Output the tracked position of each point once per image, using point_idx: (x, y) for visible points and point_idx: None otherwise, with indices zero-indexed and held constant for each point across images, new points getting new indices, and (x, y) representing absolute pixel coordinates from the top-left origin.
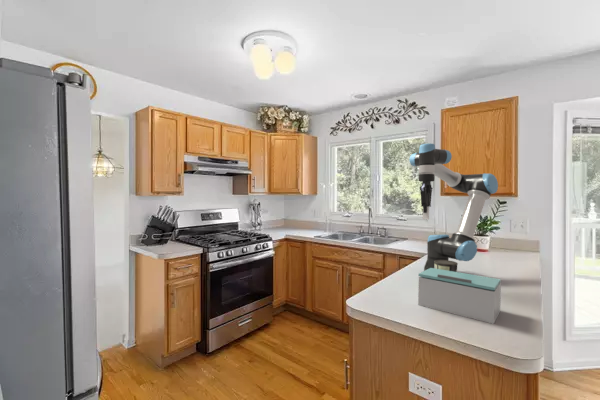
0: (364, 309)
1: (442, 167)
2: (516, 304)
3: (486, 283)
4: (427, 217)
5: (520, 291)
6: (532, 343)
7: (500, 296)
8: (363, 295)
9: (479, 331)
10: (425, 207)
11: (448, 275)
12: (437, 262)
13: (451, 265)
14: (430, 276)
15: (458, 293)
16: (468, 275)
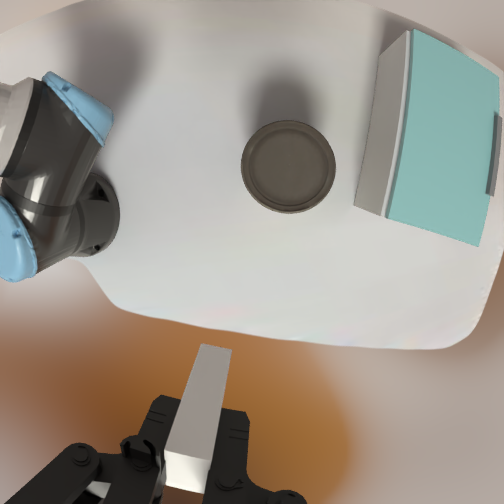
0: (477, 312)
1: None
2: (304, 15)
3: (479, 80)
4: (227, 366)
5: (174, 5)
6: (483, 62)
7: (392, 44)
8: (415, 343)
9: None
10: (246, 472)
11: (461, 163)
12: (318, 198)
13: (327, 143)
14: (485, 213)
15: None
16: (429, 103)
